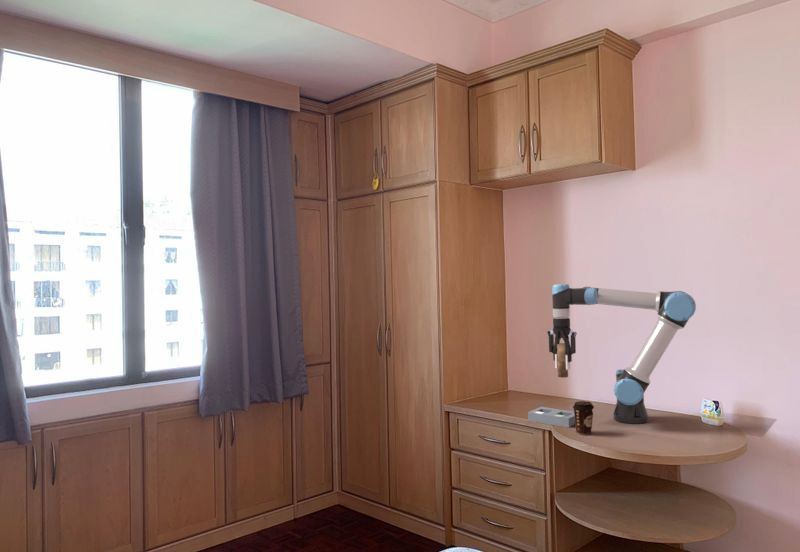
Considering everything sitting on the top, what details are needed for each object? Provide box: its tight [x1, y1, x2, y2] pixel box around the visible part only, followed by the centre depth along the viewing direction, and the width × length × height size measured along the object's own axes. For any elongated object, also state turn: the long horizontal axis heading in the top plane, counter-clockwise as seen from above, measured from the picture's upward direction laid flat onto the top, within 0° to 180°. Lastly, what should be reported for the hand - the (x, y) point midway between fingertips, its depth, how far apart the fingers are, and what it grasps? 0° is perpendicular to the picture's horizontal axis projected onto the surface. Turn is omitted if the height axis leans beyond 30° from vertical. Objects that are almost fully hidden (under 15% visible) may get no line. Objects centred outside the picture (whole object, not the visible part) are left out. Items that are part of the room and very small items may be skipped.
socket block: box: [527, 406, 576, 428], centre depth 267 cm, size 13×20×4 cm, turn 49°
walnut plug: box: [556, 342, 569, 379], centre depth 265 cm, size 5×5×15 cm
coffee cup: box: [572, 400, 595, 436], centre depth 246 cm, size 9×8×13 cm
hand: (562, 368), depth 265 cm, fingers closed on walnut plug, 5 cm apart
